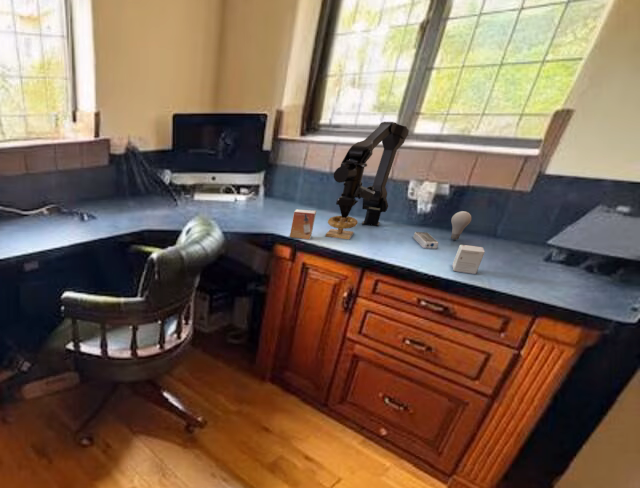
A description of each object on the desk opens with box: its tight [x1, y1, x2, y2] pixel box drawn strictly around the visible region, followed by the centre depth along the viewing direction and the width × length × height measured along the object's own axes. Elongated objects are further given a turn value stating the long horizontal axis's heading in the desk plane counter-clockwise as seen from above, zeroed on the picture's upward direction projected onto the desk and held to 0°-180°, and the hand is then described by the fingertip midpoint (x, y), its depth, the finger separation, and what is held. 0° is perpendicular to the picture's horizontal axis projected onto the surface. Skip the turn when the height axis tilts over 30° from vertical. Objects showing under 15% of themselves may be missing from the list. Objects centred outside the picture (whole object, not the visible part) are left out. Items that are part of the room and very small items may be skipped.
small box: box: [289, 208, 317, 240], centre depth 171 cm, size 8×6×10 cm
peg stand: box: [325, 217, 355, 240], centre depth 172 cm, size 9×9×7 cm
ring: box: [327, 215, 359, 230], centre depth 171 cm, size 11×11×2 cm
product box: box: [452, 244, 486, 275], centre depth 134 cm, size 6×6×7 cm
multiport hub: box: [412, 231, 439, 250], centre depth 162 cm, size 4×14×2 cm, turn 163°
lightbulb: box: [450, 210, 472, 241], centre depth 162 cm, size 6×6×11 cm
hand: (344, 219), depth 174 cm, fingers closed on ring, 2 cm apart
